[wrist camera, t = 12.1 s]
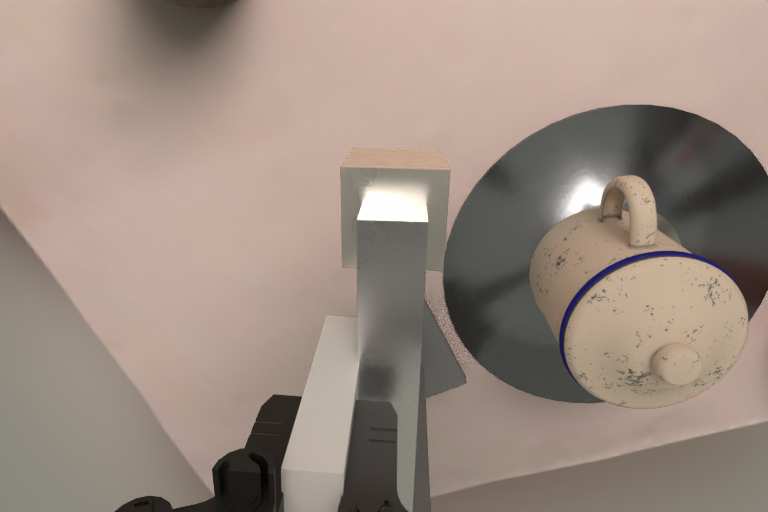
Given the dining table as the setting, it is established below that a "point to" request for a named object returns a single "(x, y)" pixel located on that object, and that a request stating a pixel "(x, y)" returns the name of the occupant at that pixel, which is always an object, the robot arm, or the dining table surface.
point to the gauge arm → (393, 275)
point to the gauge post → (434, 378)
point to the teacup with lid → (636, 303)
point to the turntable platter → (583, 192)
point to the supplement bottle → (197, 3)
